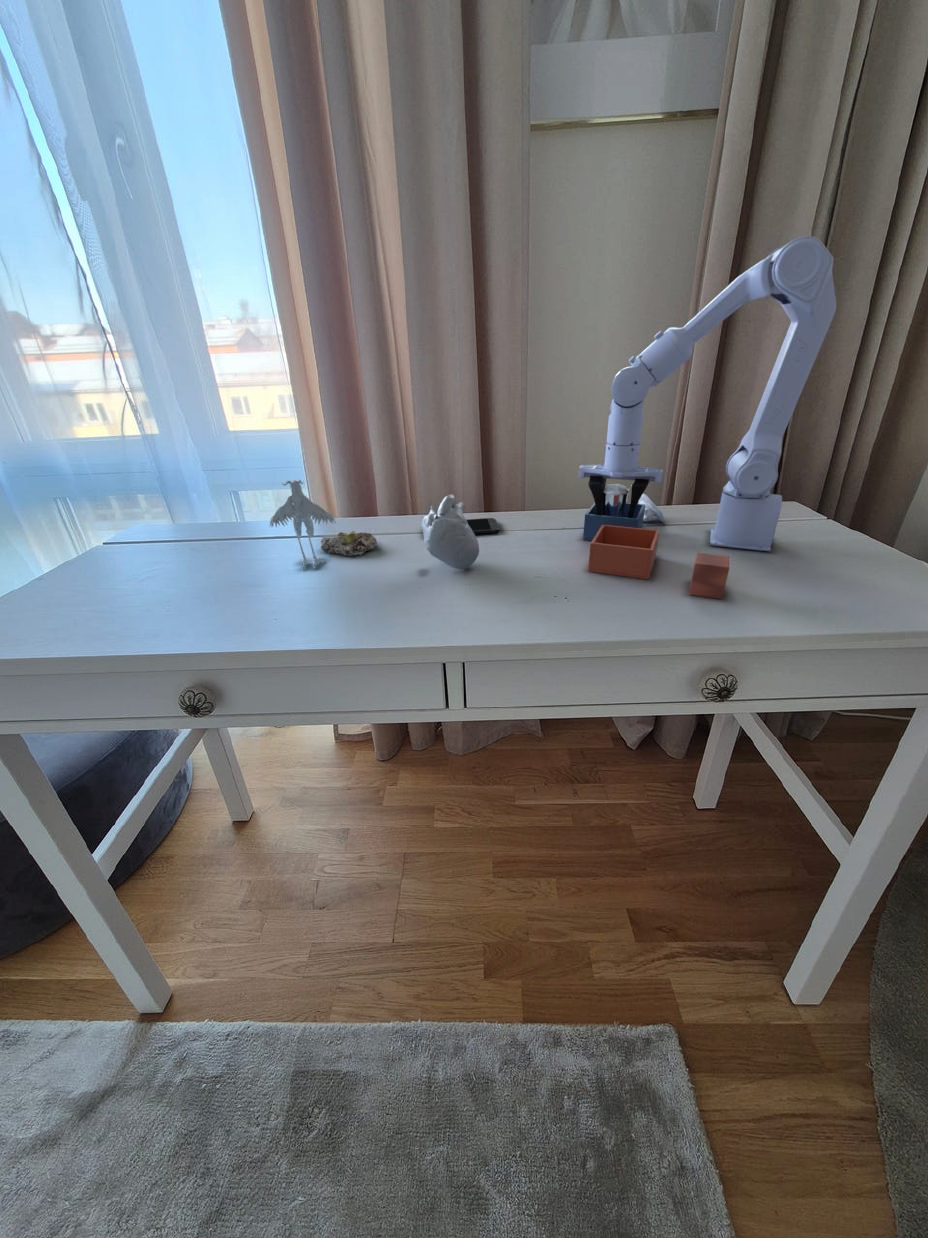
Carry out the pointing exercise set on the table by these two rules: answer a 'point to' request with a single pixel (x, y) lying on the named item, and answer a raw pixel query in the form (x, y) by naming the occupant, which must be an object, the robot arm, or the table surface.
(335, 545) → the mineral rock
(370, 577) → the table surface
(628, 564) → the terracotta bin
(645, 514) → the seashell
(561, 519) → the table surface
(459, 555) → the heart
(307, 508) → the figurine
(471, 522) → the smartphone
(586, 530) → the slate bin
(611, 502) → the milkshake
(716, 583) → the block
